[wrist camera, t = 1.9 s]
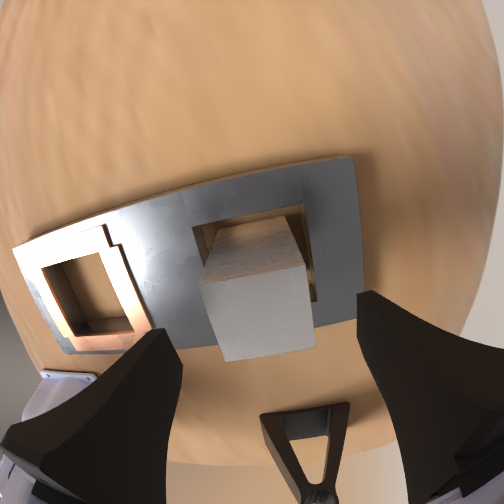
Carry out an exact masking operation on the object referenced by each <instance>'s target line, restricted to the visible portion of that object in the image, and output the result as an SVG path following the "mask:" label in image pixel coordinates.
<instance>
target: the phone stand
mask: <svg viewBox="0 0 504 504" xmlns="http://www.w3.org/2000/svg"><path fill="white" fill-rule="evenodd" d="M349 410H350V403H349V402H342V403H337V404H332V405H327V406H321V407H315V408H309V409H307V410H303V409H302V410H295V411H287V412H278V413H268V414H261V415H260V417H259V418H260V422H261V427H262V431H263V435H264V440H265V444H266V446H267V448H268V450H269V451H270V453H271V455H272V457H273V459H274V461H275V463H276V465H277V466H278V468H279V470H280V472H281V474H282V476H283V477H284V479H285V481H286V483H287V484H288V486H289V488H290V490H291V491H292V493H293V495H294V497H295V498H296V500H297V502H298V503H299V504H313V503H314V504H339V499H338V496H337V494H336V490H335V483H336V478H337V474H338V469H339V465H340V460H341V456H342V451H343V446H344V440H345V435H346V429H347V423H348V417H349ZM323 435H327V436H328V445H327V453H326V460H325V468H324V474H323V480H322V482H321V483H320V484H311V483H309V482H308V480H307V478H306V476H305V474H304V472H303V470H302V468H301V466H300V464H299V461H298V459H297V457H296V455H295V453H294V451H293V449H292V446H291V444H290V442H289V441H290V440H298V439H305V438H311V437H318V436H323Z"/></svg>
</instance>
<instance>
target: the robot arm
mask: <svg viewBox="0 0 504 504" xmlns="http://www.w3.org/2000/svg"><path fill="white" fill-rule="evenodd" d="M357 339H358V342H359V345H360V348H361V351H362V353H363V356H364V359H365V361H366V363H367V365H368V367H369V369H370V371H371V373H372V376H373V378H374V380H375V382H376V384H377V386H378V388H379V390H380V392H381V394H382V396H383V399H384V401H385V403H386V405H387V408H388V410H389V413H390V416H391V419H392V423H393V426H394V429H395V433H396V437H397V440H398V444H399V448H400V452H401V457H402V462H403V466H404V472H405V478H406V485H407V492H408V502H409V504H504V349H501V348H496V347H491V346H488V345H484V344H481V343H477V342H474V341H470V340H467V339H464V338H462V337H459V336H457V335H454V334H452V333H449V332H447V331H444V330H442V329H440V328H438V327H436V326H434V325H432V324H430V323H428V322H426V321H424V320H422V319H420V318H418V317H417V316H415V315H413V314H411V313H410V312H408V311H406V310H405V309H403V308H401V307H400V306H398V305H396V304H395V303H393V302H391V301H390V300H388V299H387V298H385V297H383V296H382V295H380V294H378V293H377V292H375V291H373V290H369V291H365V292H361V293H357ZM182 371H183V364H182V362H181V360H180V358H179V357H178V355H177V353H176V351H175V348H174V346H173V344H172V342H171V340H170V338H169V336H168V334H167V332H166V330H165V328H158V329H151V330H150V331H148V332H147V333H146V334H145V335H144V336H142V337H141V338H140V339H139V340H138V341H137V342H136V343H135V344H134V345H133V346H132V347H131V348H130V349H129V350H128V351H127V352H126V353H125V354H124V355H123V356H122V357H120V358H119V359H118V360H117V361H116V362H115V363H114V364H113V365H112V366H111V367H110V368H109V369H107V370H106V371H105V372H104V373H103V374H102V375H101V376H100V377H98V378H97V377H96V376H95V375H94V374H91V373H73V372H60V371H49V370H41V372H40V373H41V375H42V376H43V378H44V379H43V381H42V382H41V383H40V385H39V386H38V388H37V389H36V391H35V393H34V394H33V396H32V397H31V399H30V401H29V402H28V404H27V405H26V407H25V409H24V411H23V415H22V422H20V423H17V424H13V425H11V426H10V427H9V429H8V430H7V432H6V434H5V436H4V438H3V439H2V441H1V443H0V450H1V451H2V452H3V453H4V456H3V458H2V460H1V462H0V497H1V501H0V504H166V461H167V450H168V441H169V435H170V430H171V426H172V422H173V418H174V414H175V410H176V406H177V402H178V397H179V393H180V389H181V382H182Z"/></svg>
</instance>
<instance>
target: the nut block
mask: <svg viewBox="0 0 504 504" xmlns="http://www.w3.org/2000/svg"><path fill="white" fill-rule="evenodd" d="M198 288H199V291H200V294H201V297H202V300H203V303H204V305H205V308H206V311H207V314H208V317H209V319H210V322H211V325H212V328H213V330H214V333H215V336H216V338H217V341H218V344H219V346H220V349H221V351H222V354H223V357H224V359H225V362H230V361H238V360H245V359H252V358H258V357H265V356H271V355H277V354H282V353H288V352H293V351H298V350H303V349H308V348H313V347H316V345H315V336H314V327H313V318H312V310H311V302H310V294H309V286H308V279H307V272H306V265H305V263H304V260H303V258H302V255H301V253H300V251H299V248H298V246H297V244H296V241H295V239H294V237H293V234H292V232H291V230H290V227H289V225H288V223H287V221H286V218H285V216H279V217H274V218H269V219H264V220H259V221H254V222H249V223H244V224H240V225H235V226H230V227H226V228H221V229H218V232H217V234H216V237H215V240H214V242H213V245H212V248H211V250H210V253H209V256H208V258H207V261H206V264H205V267H204V269H203V272H202V275H201V278H200V280H199V283H198Z"/></svg>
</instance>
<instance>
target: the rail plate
mask: <svg viewBox="0 0 504 504" xmlns="http://www.w3.org/2000/svg"><path fill="white" fill-rule="evenodd" d="M298 204H299V205H300V211H301V217H302V223H303V229H304V235H305V242H306V248H307V255H308V262H309V270H310V277H311V286H309V294H310V302H311V310H312V318H313V327H314V328H317V327H322V326H326V325H330V324H335V323H339V322H343V321H347V320H351V319H355V318H357V293H361V292H364V266H363V246H362V231H361V219H360V208H359V199H358V190H357V182H356V174H355V167H354V160H353V157H351V156H344V155H338V156H331V157H324V158H317V159H311V160H305V161H299V162H293V163H288V164H282V165H277V166H272V167H266V168H261V169H256V170H252V171H247V172H242V173H238V174H233V175H229V176H224V177H220V178H216V179H212V180H208V181H204V182H200V183H196V184H192V185H188V186H184V187H180V188H177V189H173V190H169V191H166V192H162V193H159V194H155V195H152V196H149V197H145V198H142V199H139V200H135V201H132V202H129V203H126V204H123V205H120V206H117V207H114V208H111V209H108V210H105V211H102V212H99V213H96V214H93V215H90V216H87V217H85V218H82V219H79V220H76V221H74V222H71V223H68V224H66V225H63V226H61V227H58V228H55V229H53V230H50V231H48V232H45V233H43V234H41V235H38V236H36V237H33V238H31V239H29V240H27V241H25V242H23V243H22V244H20V245H18V246H17V247H15V248H13V252H14V255H15V257H16V260H17V262H18V265H19V267H20V270H21V272H22V274H23V277H24V279H25V281H26V283H27V286H28V288H29V290H30V292H31V294H32V296H33V298H34V300H35V302H36V304H37V306H38V308H39V310H40V312H41V314H42V316H43V318H44V319H45V321H46V323H47V325H48V327H49V328H50V330H51V332H52V333H53V335H54V337H55V339H56V340H57V342H58V343H59V345H60V347H61V348H62V350H63V351H64V353H65V354H115V353H126V352H127V351H128V350H129V349H130V348H131V347H132V346H133V345H134V344H135V343H136V342H137V341H138V340H139V339H140V338H141V337H142V336H144V335H145V334H146V333H147V332H148V331H150V330H151V329H158V328H165V330H166V332H167V334H168V336H169V338H170V340H171V342H172V344H173V346H174V348H175V349H185V348H195V347H203V346H212V345H219V344H218V341H217V338H216V336H215V333H214V330H213V328H212V325H211V322H210V319H209V317H208V314H207V311H206V308H205V305H204V303H203V300H202V297H201V294H200V291H199V288H198V283H199V280H200V278H201V275H202V272H203V269H204V267H205V264H206V261H207V258H208V256H209V253H208V250H207V246H206V243H205V239H204V236H203V232H202V229H201V225H202V224H206V223H211V222H215V221H220V220H225V219H229V218H234V217H238V216H243V215H248V214H253V213H258V212H263V211H267V210H272V209H278V208H283V207H288V206H293V205H298ZM98 251H99V252H100V255H101V258H102V260H103V263H104V265H105V268H106V270H107V273H108V275H109V277H110V280H111V282H112V284H113V287H114V289H115V291H116V293H117V296H118V298H119V300H120V302H121V304H122V307H123V309H124V311H125V313H126V315H127V316H125V317H116V318H108V319H99V320H90V321H87V319H86V317H85V316H84V314H83V312H82V310H81V308H80V306H79V304H78V302H77V300H76V298H75V296H74V294H73V291H72V289H71V287H70V285H69V283H68V281H67V278H66V276H65V274H64V271H63V269H62V267H61V264H60V262H62V261H66V260H69V259H73V258H76V257H80V256H84V255H87V254H91V253H95V252H98Z"/></svg>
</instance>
